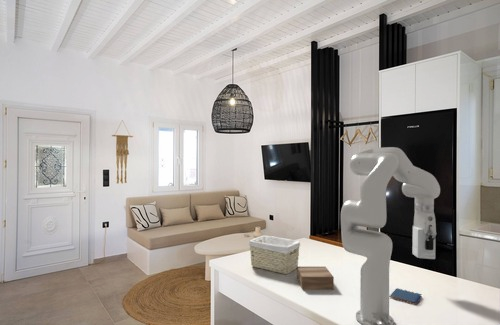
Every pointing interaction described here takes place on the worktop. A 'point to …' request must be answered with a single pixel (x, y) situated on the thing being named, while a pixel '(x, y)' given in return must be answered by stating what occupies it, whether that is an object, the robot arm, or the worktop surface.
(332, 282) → the walnut block
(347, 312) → the worktop surface
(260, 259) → the storage basket
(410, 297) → the woven mat
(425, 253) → the supplement box
